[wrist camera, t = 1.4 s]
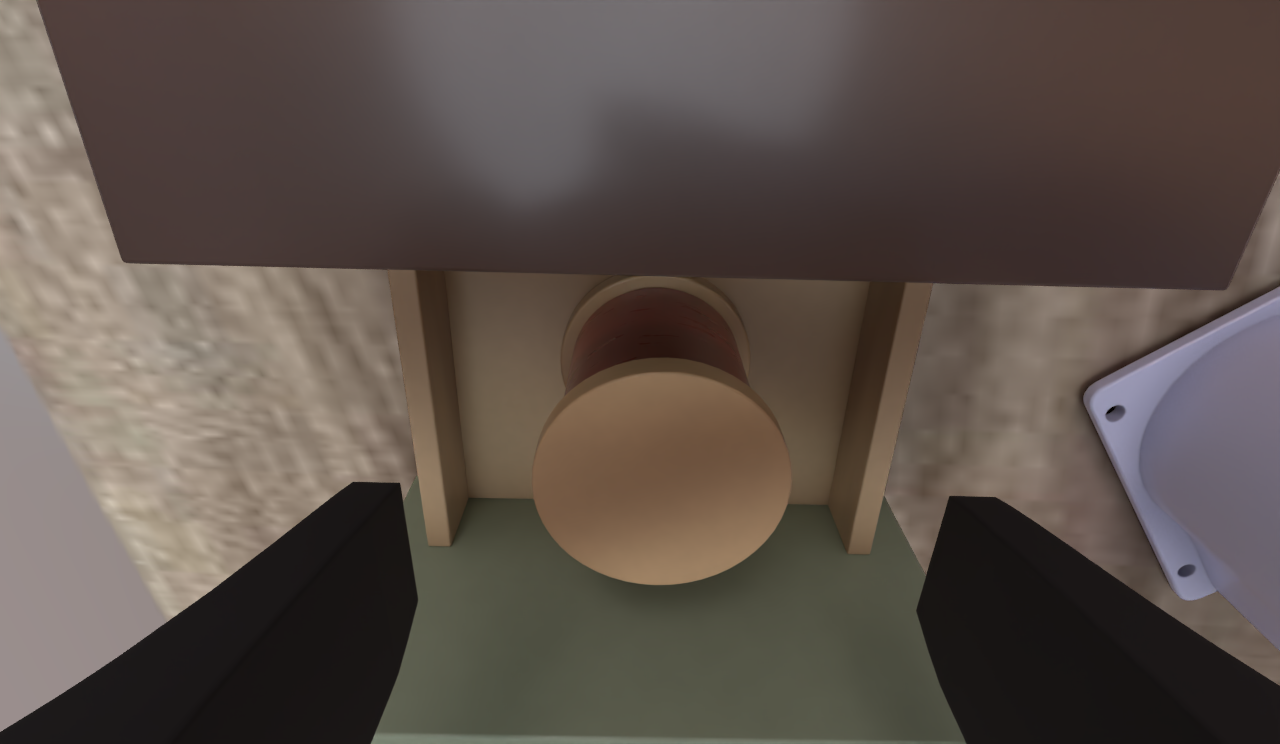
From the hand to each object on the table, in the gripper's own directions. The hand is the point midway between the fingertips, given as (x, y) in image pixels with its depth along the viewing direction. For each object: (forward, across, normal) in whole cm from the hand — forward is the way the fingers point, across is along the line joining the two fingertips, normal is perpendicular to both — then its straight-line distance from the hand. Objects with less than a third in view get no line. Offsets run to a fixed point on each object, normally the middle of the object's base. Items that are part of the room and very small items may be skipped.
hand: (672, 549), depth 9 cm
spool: (+8, 0, +1) cm, 8 cm away
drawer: (+9, 0, +2) cm, 10 cm away
